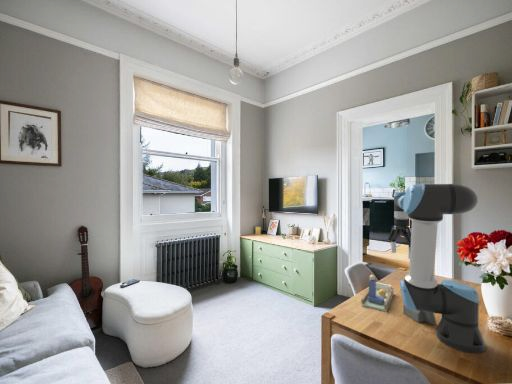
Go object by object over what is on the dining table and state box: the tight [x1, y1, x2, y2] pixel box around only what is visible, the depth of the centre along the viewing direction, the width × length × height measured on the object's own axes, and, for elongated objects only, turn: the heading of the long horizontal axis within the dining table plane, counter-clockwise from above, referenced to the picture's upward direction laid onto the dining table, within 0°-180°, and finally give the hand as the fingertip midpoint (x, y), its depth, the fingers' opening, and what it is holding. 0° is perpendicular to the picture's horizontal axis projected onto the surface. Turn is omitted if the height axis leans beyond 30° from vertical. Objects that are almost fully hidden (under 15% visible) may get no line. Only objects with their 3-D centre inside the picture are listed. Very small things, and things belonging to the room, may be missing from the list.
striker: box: [368, 274, 384, 304], centre depth 136 cm, size 6×7×14 cm
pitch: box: [360, 281, 394, 313], centre depth 141 cm, size 27×12×6 cm, turn 145°
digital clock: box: [402, 304, 437, 325], centre depth 121 cm, size 16×9×11 cm, turn 2°
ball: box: [378, 289, 386, 297], centre depth 143 cm, size 4×4×4 cm
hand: (401, 255), depth 144 cm, fingers open, 13 cm apart
